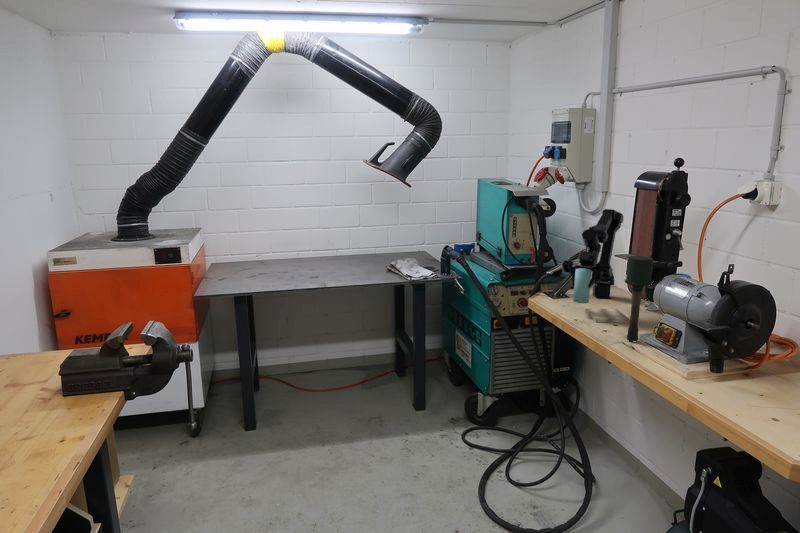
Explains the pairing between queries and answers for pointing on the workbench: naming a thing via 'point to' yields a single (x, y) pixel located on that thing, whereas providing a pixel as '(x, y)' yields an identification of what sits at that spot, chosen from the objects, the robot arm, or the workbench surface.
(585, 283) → the canister
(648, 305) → the pneumatic valve
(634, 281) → the stick grenade
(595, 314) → the board
